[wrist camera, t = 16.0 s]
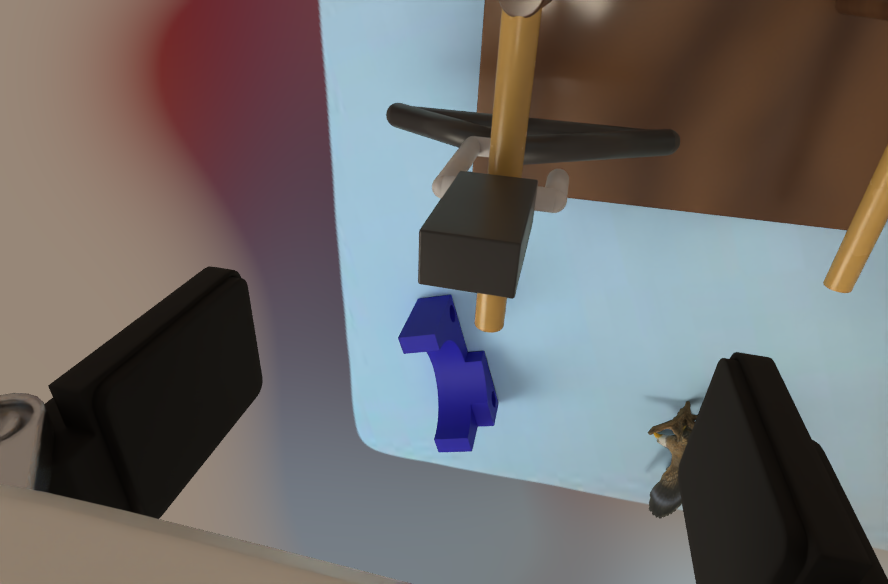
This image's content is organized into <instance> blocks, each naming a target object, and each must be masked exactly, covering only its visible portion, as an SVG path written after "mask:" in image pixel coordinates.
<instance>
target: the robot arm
mask: <svg viewBox="0 0 888 584" xmlns="http://www.w3.org/2000/svg"><path fill="white" fill-rule="evenodd" d="M261 387H262V373H261V366H260V360H259V354H258V347H257V341H256V335H255V329H254V323H253V316H252V310H251V304H250V297H249V292H248V286H247V282H246V281H245V280H244V279H242V278H241V276H240V274H239V273H238V272H237V271H235V270H230V269H224V268H217V267H207V268H205V269H203V270H202V271H201V272H199V273H198V274H197V275H195V276H194V277H193V278H191V279H190V280H189V281H187V282H186V283H185V284H183V285H182V286H181V287H179V288H178V289H177V290H175V291H174V292H173V293H171V294H170V295H169V296H167V297H166V298H165V299H163V300H162V301H161V302H159V303H158V304H157V305H155V306H154V307H153V308H151V309H150V310H149V311H147V312H146V313H145V314H143V315H142V316H141V317H139V318H138V319H137V320H135V321H134V322H133V323H131V324H130V325H129V326H127V327H126V328H125V329H123V330H122V331H121V332H119V333H118V334H117V335H115V336H114V337H113V338H112V339H110V340H109V341H107V342H106V343H105V344H103V345H102V346H101V347H99V348H98V349H97V350H95V351H94V352H93V353H91V354H90V355H89V356H87V357H86V358H85V359H83V360H82V361H81V362H79V363H78V364H76V365H75V366H74V367H73V368H71V369H70V370H68V371H67V372H66V373H65V374H63V375H62V376H61V377H59V378H58V379H56V380H55V381H54V382H52V383H51V384H50V385H49V389H50V391H51V393H52V396H53V398H52V399H51V400H49V401H48V402H47V403H45V404H44V402H43V401H41V400H40V399H39V398H38V397H37V396H34V395H30V394H24V393H12V394H5V395H0V584H411V583H407V582H403V581H399V580H396V579H392V578H388V577H384V576H380V575H376V574H373V573H369V572H365V571H361V570H357V569H353V568H349V567H345V566H342V565H338V564H334V563H330V562H326V561H322V560H318V559H314V558H310V557H307V556H302V555H299V554H295V553H290V552H287V551H283V550H279V549H275V548H271V547H268V546H263V545H260V544H256V543H251V542H247V541H244V540H240V539H236V538H232V537H228V536H224V535H220V534H216V533H212V532H208V531H204V530H200V529H196V528H192V527H188V526H184V525H180V524H176V523H172V522H168V521H164V520H160V519H159V518H160V517H161V516H162V515H163V514H164V512H165V511H166V510H167V509H168V507H169V506H170V505H171V503H172V502H173V501H174V500H175V499H176V497H177V496H178V495H179V493H180V492H181V491H182V489H184V487H185V486H186V485H187V483H188V482H189V481H190V480H191V478H192V477H193V476H194V475H195V474H196V472H197V471H198V469H199V468H200V467H201V466H202V465H203V463H204V462H205V461H206V460H207V458H208V457H209V456H210V455H211V453H212V452H213V451H214V450H215V448H216V447H217V446H218V445H219V443H220V442H221V441H222V440H223V438H224V437H225V436H226V435H227V433H228V432H229V431H230V430H231V428H232V427H233V426H234V425H235V423H236V422H237V421H238V420H239V418H240V417H241V416H242V414H243V413H244V412H245V411H246V409H247V408H248V407H249V406H250V405H251V403H252V402H253V401H254V400H255V398H256V397H257V396H258V394H259V392H260V390H261ZM678 483H679V489H680V495H681V500H682V506H683V512H684V517H685V523H686V528H687V534H688V540H689V545H690V551H691V557H692V562H693V568H694V574H695V579H696V584H888V579H887V577H886V575H885V573H884V571H883V569H882V567H881V565H880V563H879V561H878V559H877V557H876V555H875V553H874V550H873V548H872V546H871V544H870V542H869V540H868V538H867V536H866V534H865V532H864V530H863V528H862V526H861V524H860V522H859V520H858V518H857V516H856V514H855V512H854V510H853V508H852V506H851V504H850V502H849V500H848V498H847V496H846V494H845V492H844V490H843V488H842V486H841V484H840V482H839V480H838V478H837V476H836V474H835V472H834V470H833V468H832V466H831V464H830V462H829V460H828V458H827V456H826V454H825V452H824V450H823V449H822V448H821V446H820V445H819V444H818V443H817V442H815V441H813V440H812V439H811V437H810V435H809V433H808V431H807V429H806V427H805V425H804V423H803V420H802V418H801V416H800V414H799V412H798V410H797V408H796V406H795V404H794V402H793V400H792V398H791V396H790V394H789V391H788V389H787V387H786V385H785V383H784V381H783V379H782V377H781V375H780V373H779V371H778V369H777V367H776V365H775V363H774V361H773V360H772V359H771V358H769V357H763V356H757V355H751V354H745V353H739V352H736V353H733V355H732V356H731V357H730V359H726V358H722V359H720V361H719V362H718V364H717V367H716V369H715V372H714V374H713V377H712V380H711V382H710V385H709V387H708V390H707V393H706V395H705V398H704V400H703V403H702V406H701V408H700V411H699V414H698V416H697V419H696V421H695V424H694V427H693V429H692V432H691V434H690V437H689V440H688V442H687V445H686V447H685V450H684V453H683V455H682V458H681V460H680V464H679V469H678Z"/></svg>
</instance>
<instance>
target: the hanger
mask: <svg viewBox="0 0 888 584" xmlns="http://www.w3.org/2000/svg"><path fill="white" fill-rule="evenodd" d="M386 116H387V120H388V122H389V123H390V124H391V125H392V126H394V127H396V128H399V129H403V130H406V131H409V132H412V133H415V134H418V135H421V136H424V137H428V138H431V139H434V140H437V141H440V142H443V143H446V144H450V145H453V146H456V147H459V149H458V150H457V151H456V153H455V154H454V155H453V157H452V158H451V159H450V160H449V162H448V163H447V164H446V166H445V167H444V168H443V170H442V171H441V172H440V173H439V175H438V176H437V177H436V179H435V180H434V181H433V184H432V190H433V192H434V194H435V195H436V196H437V197H439V198H441V199H440V201H439V202H438V204H437V205H436V207H435V208H434V210H433V211H432V213H431V214H430V216H429V217H428V219H427V220H426V222H425V223H424V224H423V226H422V227H421V229H420V231H419V269H418V282H419V284H423V285H430V286H436V287H442V288H449V289H455V290H461V291H468V292H474V293H480V294H487V295H493V296H500V297H506V298H514V297H515V294H516V290H517V285H518V281H519V277H520V273H521V269H522V265H523V261H524V256H525V252H526V248H527V244H528V240H529V236H530V232H531V228H532V223H533V216H534V210H535V211H543V212H550V213H557V212H560V211H561V210H563V209H564V207H565V206H566V203H567V194H568V186H569V176H568V174H567V172H566V171H564V170H562V169H554V170H552V171H551V172H550V173H549V175H548V177H547V181H546V185H545V187H539V186H538V180H535V179H526V178H518V177H509V176H501V175H492V174H484V173H475V172H467V171H468V170H469V168H470V167H471V165H472V163H473V162H474V160H475V159H476V157H477V156H482V157H489V151H490V140H491V128H492V117H493V114H487V113H477V112H466V111H456V110H446V109H436V108H425V107H415V106H409V105H406V104H402V103H394V104H392V105H391V106H390V107H389V108H388V110H387V114H386ZM679 146H680V136H679V135H678V133H677V132H676V131H674V130H672V129H655V130H651V129H641V128H630V127H620V126H610V125H600V124H589V123H579V122H569V121H559V120H548V119H538V118H529V120H528V128H527V137H526V145H525V153H524V161H523V165H527V164H543V163H558V162H574V161H590V160H606V159H621V158H637V157H653V156H667V155H671V154H673V153H674V152H676V151H677V149H678V148H679Z"/></svg>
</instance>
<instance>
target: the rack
mask: <svg viewBox="0 0 888 584" xmlns="http://www.w3.org/2000/svg"><path fill="white" fill-rule="evenodd" d="M477 113H487V114H493V117H492V128H491V140H490V151H489V157H482V156H477V157H476V159H475V160H474V162H473V171H472V172H475V173H484V174H492V175H501V176H509V177H518V178H526V179H535V180H538V186H539V187H545V185H546V181H547V177H548V175H549V173H550V172H551V171H552V170H554V169H562V170H564V171H566V172H567V174H568V176H569V186H568V194H567V198H575V199H584V200H592V201H601V202H609V203H618V204H626V205H635V206H643V207H652V208H660V209H669V210H678V211H686V212H695V213H703V214H712V215H720V216H729V217H737V218H746V219H755V220H763V221H772V222H780V223H789V224H797V225H806V226H814V227H823V228H832V229H840V230H847V232H846V234H845V237H844V239H843V241H842V243H841V245H840V247H839V250H838V252H837V254H836V256H835V258H834V260H833V262H832V265H831V267H830V269H829V271H828V273H827V275H826V278H825V280H824V282H823V284H824V285H825V286H826V287H827V288H829V289H831V290H833V291H837V292H841V293H849V292H851V291H852V289H853V287H854V285H855V283H856V281H857V279H858V277H859V275H860V273H861V271H862V269H863V267H864V265H865V263H866V261H867V259H868V257H869V255H870V253H871V251H872V249H873V247H874V245H875V243H876V241H877V239H878V237H879V235H880V233H881V231H882V229H883V227H884V225H885V223H886V221H887V219H888V0H485V5H484V19H483V33H482V46H481V60H480V74H479V88H478V102H477ZM529 118H538V119H548V120H559V121H569V122H579V123H589V124H600V125H610V126H620V127H630V128H641V129H651V130H655V129H672V130H674V131H676V132H677V133H678V135H679V136H680V146H679V148H678V149H677V151H676V152H674V153H673V154H671V155H667V156H653V157H637V158H621V159H606V160H590V161H574V162H558V163H543V164H527V165H523V161H524V153H525V145H526V137H527V128H528V120H529ZM506 302H507V298H506V297H500V296H493V295H487V294H480V293H477V301H476V312H475V326H476V327H477V328H478V329H480V330H481V331H484V332H497V331H500V330H501V329H502V328H503V326H504V319H505V311H506Z"/></svg>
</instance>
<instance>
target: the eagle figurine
mask: <svg viewBox="0 0 888 584" xmlns="http://www.w3.org/2000/svg"><path fill="white" fill-rule="evenodd" d="M690 406H691V404H690V402H689V401H687V402H686V403H685V406H684V407H683V408H681V409H680V412H678V415H677V416H676V417H674V418H673V420H670V421H668V422H665V423H662V424H659V425H656V426H653V427H652V428H651V429H650V430H649V432H648V434H649V435H651V434H654V436H655V437H656V438H657V442H658V443H660V444H661V445H663V446H665V447H666V448H668V449H669V450H670V451H671V453H672V462H671V465H670V467H668V468H667V469H666V470H667V471H666V472H665V473H664V474H663V475H662V478H661V480H660V482H658V483H657V484H656V485H655V486H654V487H653V489H652V491H651V492H650V501H649V510H650V511H652V514H653V515H655V516H656V517H659V518H662V517H665V516H668V515H669V514H672V513H673V512H674V511H675V510H676V509H677V508H678V507H679V506H680V505H681V504H682V500H681V495H680V489H679V483H678V469H679V464H680V460H681V458H682V455H683V453H684V450H685V447H686V445H687V442H688V440H689V437H690V434H691V432H692V429H693V427H694V424H695V422H694V420H696V419H697V416H698V415H692V414H691V410H690ZM664 429H671V430H672V431H673V433H674V434H675V435H662V434H658V433H656V432H660V431H662V430H664Z"/></svg>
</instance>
